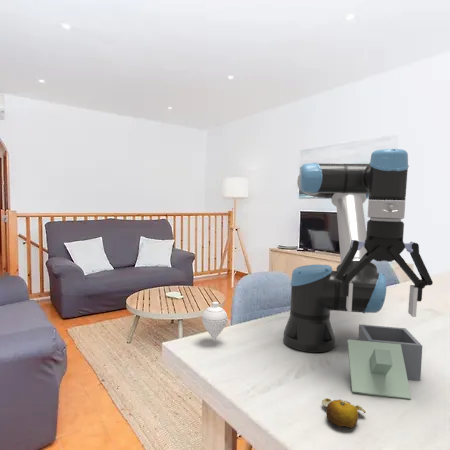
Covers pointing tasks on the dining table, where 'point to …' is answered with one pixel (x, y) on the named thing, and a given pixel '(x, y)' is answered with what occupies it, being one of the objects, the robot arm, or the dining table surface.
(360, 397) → the dining table surface
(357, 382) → the lid
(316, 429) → the dining table surface
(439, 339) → the dining table surface
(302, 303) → the robot arm
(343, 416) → the fruit
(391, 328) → the storage box
